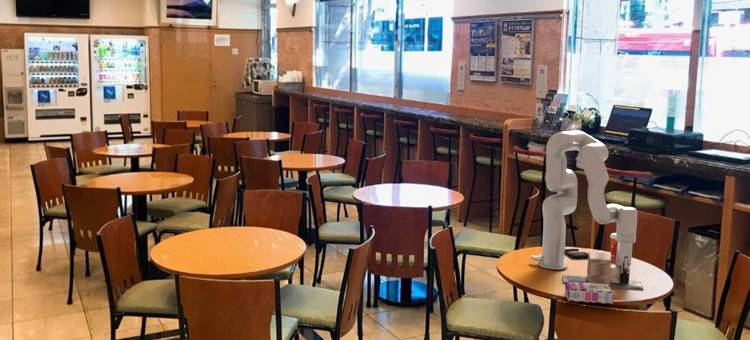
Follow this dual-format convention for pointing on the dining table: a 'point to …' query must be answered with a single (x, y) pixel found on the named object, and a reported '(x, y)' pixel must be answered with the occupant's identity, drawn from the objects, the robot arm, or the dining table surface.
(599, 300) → the candy bar box
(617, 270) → the block
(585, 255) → the battery charger
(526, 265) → the dining table surface
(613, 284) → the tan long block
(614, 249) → the paper cup
